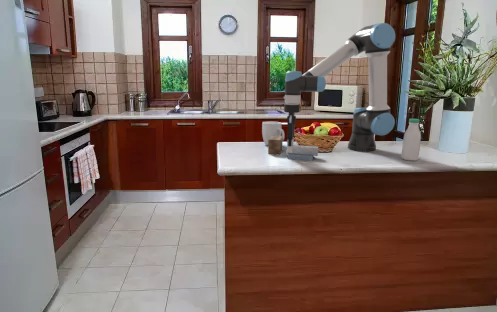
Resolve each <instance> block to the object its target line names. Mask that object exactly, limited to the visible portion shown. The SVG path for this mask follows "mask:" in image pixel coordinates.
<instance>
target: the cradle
mask: <svg viewBox="0 0 497 312" xmlns="http://www.w3.org/2000/svg"><path fill="white" fill-rule="evenodd" d="M287 159H289V160H299V161H300V160H302V161H314V160H313V159H314V156H313V155H296V154H287Z"/></svg>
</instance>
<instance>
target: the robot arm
mask: <svg viewBox="0 0 497 312" xmlns="http://www.w3.org/2000/svg"><path fill="white" fill-rule="evenodd" d="M395 41H396V32H395V29H394V28H393V26H391V25H390V24H389V23H386V22H385V23H384V22H379V23H375V24H371V25H367V26H364V27H363V28H360V29H359V30H358V31H357V32H355V33H353V35H351V36H350V37H349V38H347V39H345V43H344V44H343V45H341V46H340V47H339V48H337V49H336V50H334V51H332V52H331V53H330V54H329V55H328V56H327V57H325V58H323V59H322V60H321V61H319V62H318V63H317V64H316V65H314V66H312V67H311V68H310V69H308V70H307V71H306V72H304V73H303V74H302V71H299V70H298V71H295V70H293V71H292V70H288V71H287V72H285V79H284V82H285V83H284V84H285V85H284V96H283V99H284V106H283V107H284V108H283V113H288V115H287V116H286V117H287V118H286V119H287V124H286V125H287V130H286V131H287V134H286V135H287V136H286V138H285V139H286V153H287V152H290V153H292V150H293V145H295V143H294V139H295V138H296V135H295V127H296V126H295V125H296V119H297V116H296V115H295V114H297V113H298V114H299V113H300V111H301V105H300V104H301V99H302V98H301V97H302V96H301V93H302V92H306V93H307V92H308V93H309V92H310V93H311V92H313V93H314V92H315V93H320V92H324V91H325V89H326V84H327V81H326V78H325V77H326V76H328V75H330V73H332V72H333V71H334V70H337V68H339V67H340V66H341V65H342V64H344V63H346V62H347V61H349V59H351V58H352V57H354V56H355V57H358V55H360V54H361V53H363V52H364V53H365V54H364V55H366V57H368V106H367V107H356V108H354V109H353V113H352V115H353V116H352V128H351V129H352V131H351V136H350V138H349V141H348V143H347V149H348V150H350V151H351V150H352V151H356V152H375V151H376V150H377V144H376V140H375V136H385V135H388V134H389V133H390V132H391V131H392V130H393V129H394V127H395V124H396V121H395V118H394V116H393V115H392V114H391V107H390V106H389V105H388V55H389V54H390V53H391V47H392V46H393V44H394V43H395Z"/></svg>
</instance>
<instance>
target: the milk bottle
mask: <svg viewBox="0 0 497 312" xmlns="http://www.w3.org/2000/svg"><path fill="white" fill-rule="evenodd" d="M420 121H421V119H419V118H409V120H408V124H409V125H408V126H407V128H406V130H405V132H404V134H403V140H402V149H401V159H402V160H405V161H413V162H414V161H418V160H419V156H420V148H421V139H422V135H421V134H422V133H421V130H420V127H419V124H420Z"/></svg>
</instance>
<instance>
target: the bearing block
mask: <svg viewBox="0 0 497 312" xmlns="http://www.w3.org/2000/svg"><path fill="white" fill-rule="evenodd" d="M283 141H284V140H283V136H282V135H281V136H271V137H270V138H269V139H268V145H267V149H268V150H267V155H268V154H269V155H280V154H281V152H282V151H283Z"/></svg>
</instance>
